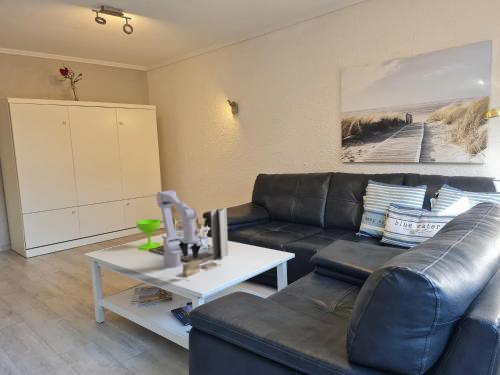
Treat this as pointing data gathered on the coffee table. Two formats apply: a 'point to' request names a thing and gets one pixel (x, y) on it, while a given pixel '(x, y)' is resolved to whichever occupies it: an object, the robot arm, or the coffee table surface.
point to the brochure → (219, 233)
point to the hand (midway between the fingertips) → (190, 257)
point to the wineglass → (148, 227)
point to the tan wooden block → (191, 268)
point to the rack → (205, 264)
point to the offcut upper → (209, 265)
